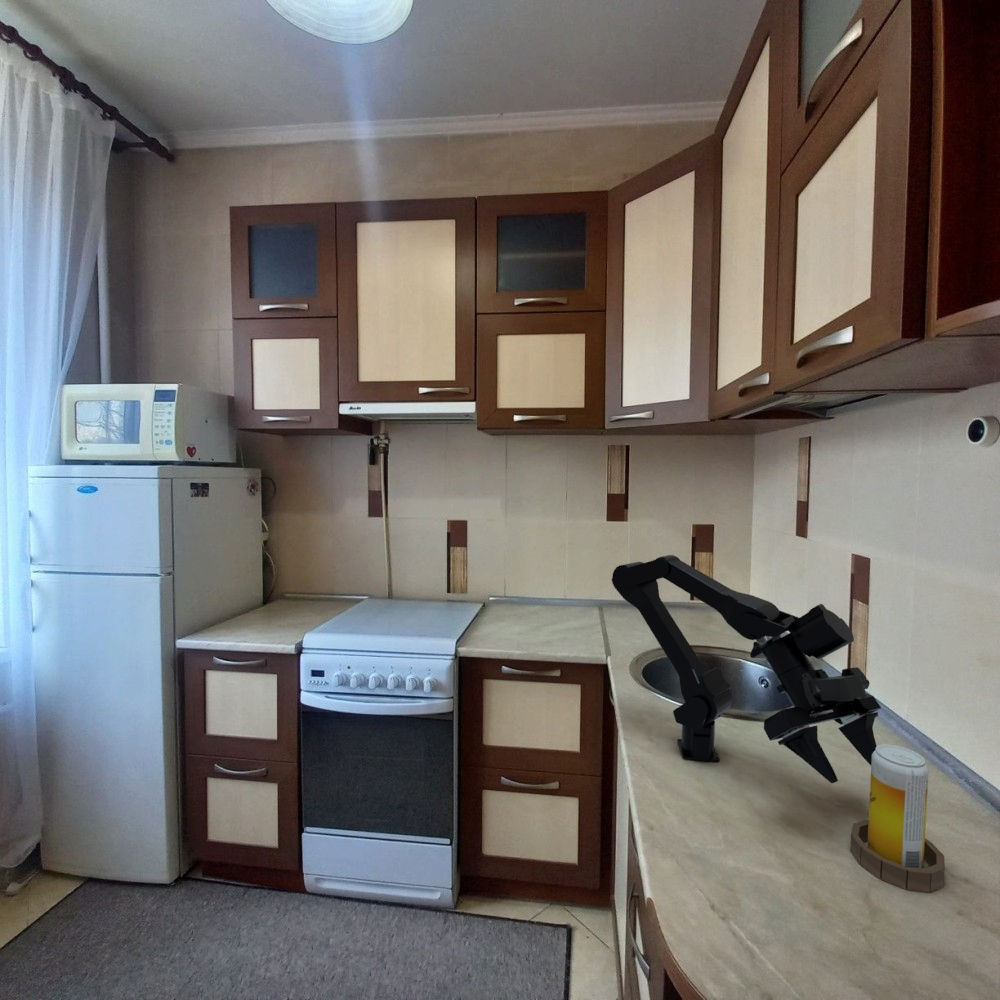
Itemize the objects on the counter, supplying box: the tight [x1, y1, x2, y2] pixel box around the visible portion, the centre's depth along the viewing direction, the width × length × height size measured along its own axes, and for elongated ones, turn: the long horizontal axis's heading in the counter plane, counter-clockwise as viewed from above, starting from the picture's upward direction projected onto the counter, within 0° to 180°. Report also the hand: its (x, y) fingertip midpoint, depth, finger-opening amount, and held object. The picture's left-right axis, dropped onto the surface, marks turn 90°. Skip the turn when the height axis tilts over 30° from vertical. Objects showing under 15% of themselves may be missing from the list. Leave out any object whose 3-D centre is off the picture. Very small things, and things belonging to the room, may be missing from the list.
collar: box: [849, 819, 946, 893], centre depth 72 cm, size 10×10×2 cm
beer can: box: [866, 743, 930, 868], centre depth 72 cm, size 6×6×15 cm
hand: (857, 776), depth 76 cm, fingers open, 9 cm apart
